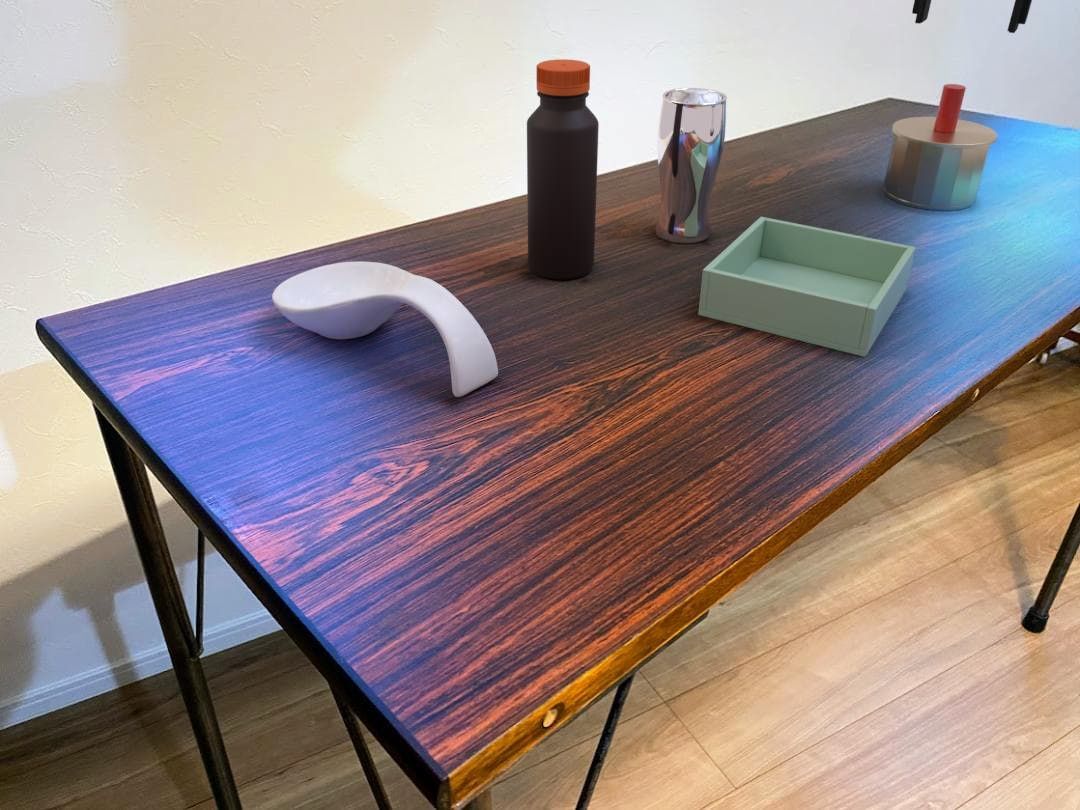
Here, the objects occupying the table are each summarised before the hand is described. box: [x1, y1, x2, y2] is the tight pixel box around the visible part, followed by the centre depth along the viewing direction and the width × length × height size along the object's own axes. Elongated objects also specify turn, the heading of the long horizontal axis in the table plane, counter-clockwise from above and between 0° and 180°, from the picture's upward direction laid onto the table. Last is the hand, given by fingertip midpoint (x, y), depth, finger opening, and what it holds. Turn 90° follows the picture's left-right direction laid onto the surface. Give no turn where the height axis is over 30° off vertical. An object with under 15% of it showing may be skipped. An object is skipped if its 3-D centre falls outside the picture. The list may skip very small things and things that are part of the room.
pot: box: [883, 133, 992, 212], centre depth 109 cm, size 11×11×8 cm
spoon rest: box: [271, 261, 499, 398], centre depth 78 cm, size 24×12×7 cm, turn 48°
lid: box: [891, 83, 998, 149], centre depth 106 cm, size 12×12×6 cm
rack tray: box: [697, 216, 917, 358], centre depth 85 cm, size 15×15×5 cm
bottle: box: [526, 58, 600, 281], centre depth 88 cm, size 7×7×20 cm
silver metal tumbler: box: [654, 87, 728, 244], centre depth 97 cm, size 7×7×15 cm
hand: (965, 26), depth 101 cm, fingers open, 9 cm apart
